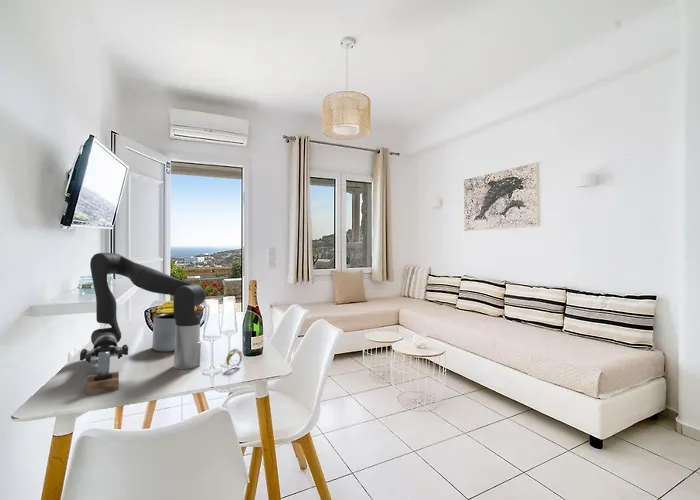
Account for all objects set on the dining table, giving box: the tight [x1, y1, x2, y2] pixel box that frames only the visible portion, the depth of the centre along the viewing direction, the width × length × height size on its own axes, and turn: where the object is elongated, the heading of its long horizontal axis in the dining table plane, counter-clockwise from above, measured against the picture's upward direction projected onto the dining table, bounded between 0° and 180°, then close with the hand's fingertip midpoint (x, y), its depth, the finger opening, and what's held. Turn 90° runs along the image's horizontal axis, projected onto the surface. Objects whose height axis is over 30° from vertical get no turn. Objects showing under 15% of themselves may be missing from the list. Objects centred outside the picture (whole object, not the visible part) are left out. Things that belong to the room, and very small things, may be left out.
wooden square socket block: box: [85, 371, 120, 396], centre depth 115 cm, size 9×9×4 cm
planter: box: [151, 312, 176, 353], centre depth 163 cm, size 16×16×16 cm
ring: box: [225, 347, 244, 367], centre depth 138 cm, size 7×3×8 cm, turn 138°
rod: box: [97, 351, 111, 381], centre depth 115 cm, size 3×3×12 cm
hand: (104, 357), depth 119 cm, fingers open, 8 cm apart
